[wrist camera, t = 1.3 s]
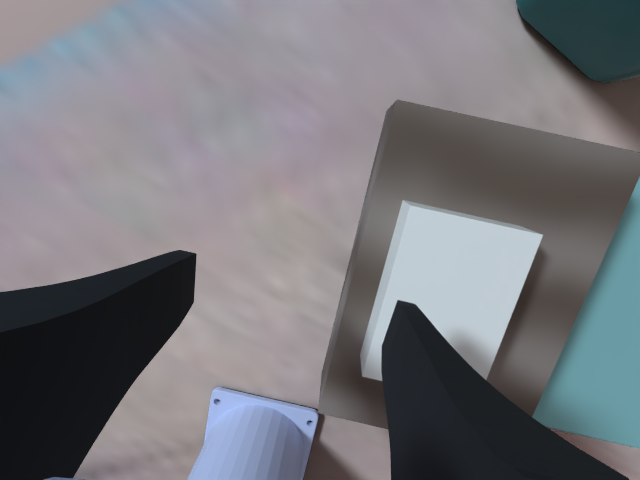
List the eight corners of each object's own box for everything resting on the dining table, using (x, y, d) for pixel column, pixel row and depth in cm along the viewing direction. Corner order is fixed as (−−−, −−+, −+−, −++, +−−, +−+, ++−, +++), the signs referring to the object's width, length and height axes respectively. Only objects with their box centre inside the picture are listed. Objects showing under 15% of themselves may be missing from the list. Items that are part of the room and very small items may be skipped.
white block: (463, 377, 19) (477, 403, 17) (360, 354, 19) (362, 376, 17) (520, 226, 17) (543, 234, 15) (402, 200, 17) (410, 205, 15)
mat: (652, 447, 24) (657, 452, 23) (486, 409, 24) (488, 413, 24) (793, 199, 19) (803, 200, 19) (588, 155, 19) (593, 155, 19)
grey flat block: (486, 409, 24) (513, 458, 20) (322, 371, 24) (318, 412, 20) (588, 155, 19) (649, 154, 16) (386, 111, 20) (397, 99, 16)
